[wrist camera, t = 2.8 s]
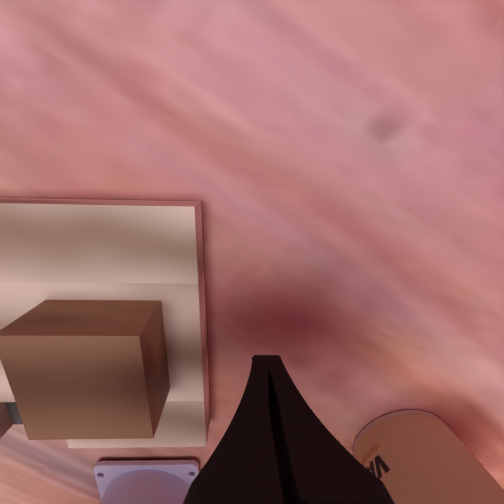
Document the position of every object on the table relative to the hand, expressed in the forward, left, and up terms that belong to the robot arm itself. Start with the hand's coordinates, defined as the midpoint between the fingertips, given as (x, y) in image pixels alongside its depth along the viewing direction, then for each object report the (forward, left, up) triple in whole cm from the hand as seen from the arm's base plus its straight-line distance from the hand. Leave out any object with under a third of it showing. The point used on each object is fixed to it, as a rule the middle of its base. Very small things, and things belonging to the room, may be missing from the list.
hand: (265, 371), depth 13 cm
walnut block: (0, +9, -2) cm, 9 cm away
